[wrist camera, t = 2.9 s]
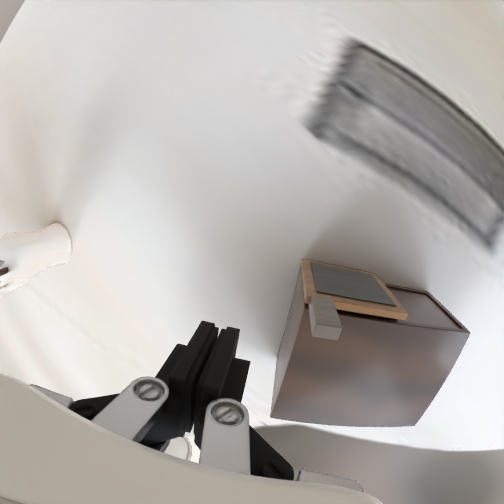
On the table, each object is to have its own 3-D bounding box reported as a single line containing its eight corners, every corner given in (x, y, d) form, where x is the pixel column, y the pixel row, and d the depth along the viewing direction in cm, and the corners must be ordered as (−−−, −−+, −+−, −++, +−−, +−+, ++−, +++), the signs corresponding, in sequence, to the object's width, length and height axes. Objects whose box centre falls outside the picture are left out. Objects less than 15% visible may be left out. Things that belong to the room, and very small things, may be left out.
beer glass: (49, 265, 34) (-23, 299, 19) (42, 220, 32) (-35, 243, 18) (77, 267, 33) (-2, 308, 18) (71, 218, 31) (-17, 243, 17)
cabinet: (300, 266, 29) (304, 308, 19) (428, 291, 27) (470, 332, 18) (276, 358, 32) (269, 417, 22) (392, 373, 30) (414, 426, 21)
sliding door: (302, 256, 28) (310, 322, 15) (375, 272, 27) (430, 339, 14) (300, 265, 28) (306, 335, 15) (373, 280, 27) (425, 351, 14)
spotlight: (201, 445, 37) (176, 478, 30) (184, 456, 42) (162, 482, 35) (163, 416, 38) (134, 446, 31) (152, 432, 43) (128, 457, 36)
